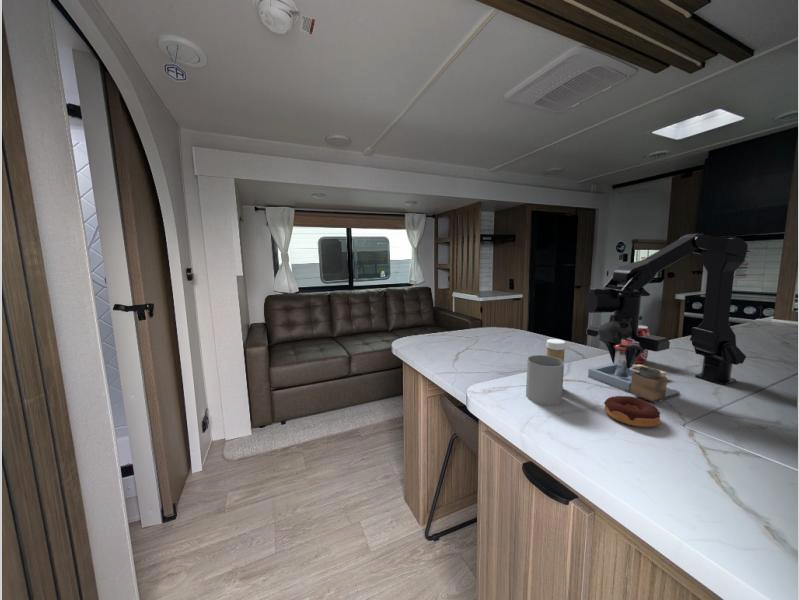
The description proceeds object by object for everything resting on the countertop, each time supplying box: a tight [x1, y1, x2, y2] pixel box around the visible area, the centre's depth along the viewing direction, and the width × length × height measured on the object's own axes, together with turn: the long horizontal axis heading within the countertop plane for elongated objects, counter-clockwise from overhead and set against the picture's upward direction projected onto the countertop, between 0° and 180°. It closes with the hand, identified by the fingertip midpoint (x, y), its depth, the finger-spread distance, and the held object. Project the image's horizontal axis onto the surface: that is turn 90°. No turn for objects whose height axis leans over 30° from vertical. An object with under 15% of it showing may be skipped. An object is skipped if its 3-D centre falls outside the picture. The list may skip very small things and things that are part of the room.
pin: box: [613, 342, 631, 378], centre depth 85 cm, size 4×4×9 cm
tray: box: [587, 362, 639, 393], centre depth 85 cm, size 11×11×2 cm
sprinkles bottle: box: [546, 338, 567, 377], centre depth 81 cm, size 5×5×14 cm
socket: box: [631, 363, 667, 378], centre depth 88 cm, size 7×7×2 cm
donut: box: [603, 395, 661, 428], centre depth 66 cm, size 10×10×4 cm
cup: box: [525, 354, 565, 407], centre depth 76 cm, size 8×8×10 cm
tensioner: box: [629, 366, 668, 402], centre depth 74 cm, size 5×5×7 cm
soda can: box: [621, 324, 651, 364], centre depth 100 cm, size 7×7×12 cm
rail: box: [635, 386, 681, 403], centre depth 77 cm, size 11×4×1 cm, turn 112°
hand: (621, 365), depth 85 cm, fingers closed on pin, 3 cm apart
